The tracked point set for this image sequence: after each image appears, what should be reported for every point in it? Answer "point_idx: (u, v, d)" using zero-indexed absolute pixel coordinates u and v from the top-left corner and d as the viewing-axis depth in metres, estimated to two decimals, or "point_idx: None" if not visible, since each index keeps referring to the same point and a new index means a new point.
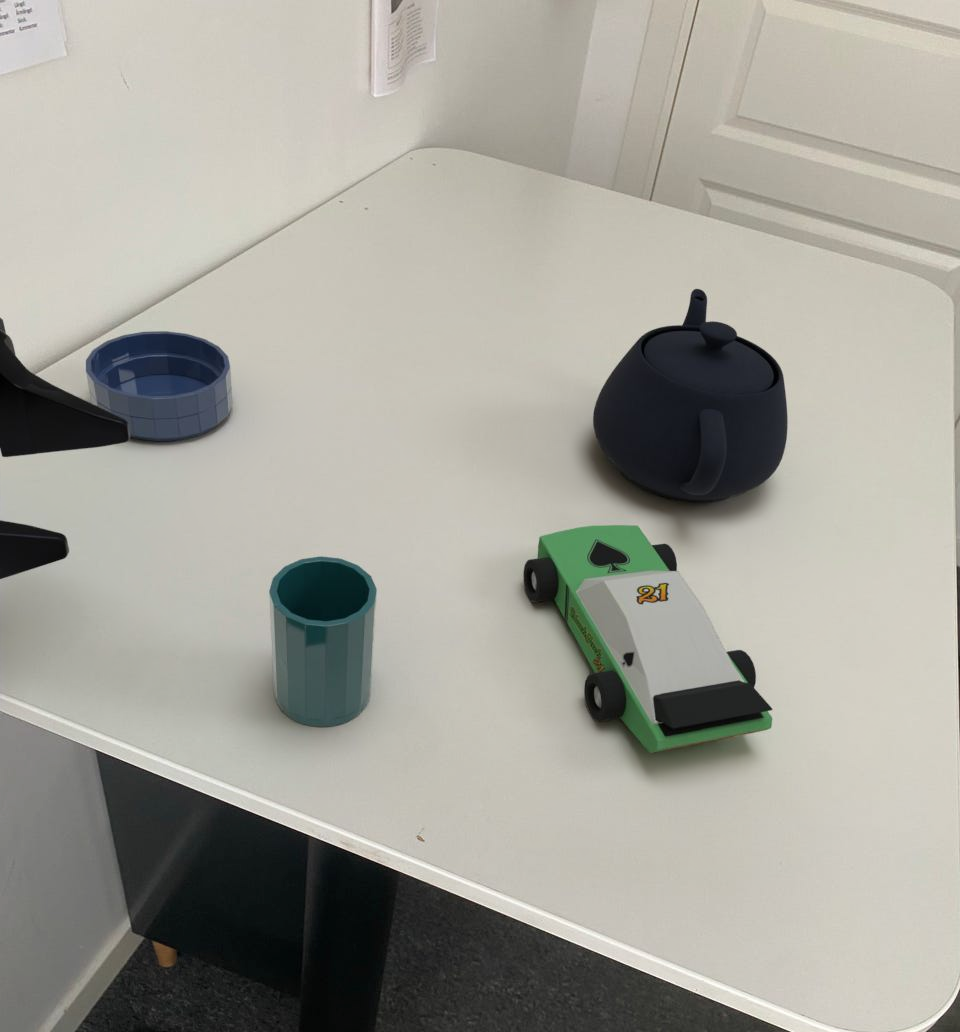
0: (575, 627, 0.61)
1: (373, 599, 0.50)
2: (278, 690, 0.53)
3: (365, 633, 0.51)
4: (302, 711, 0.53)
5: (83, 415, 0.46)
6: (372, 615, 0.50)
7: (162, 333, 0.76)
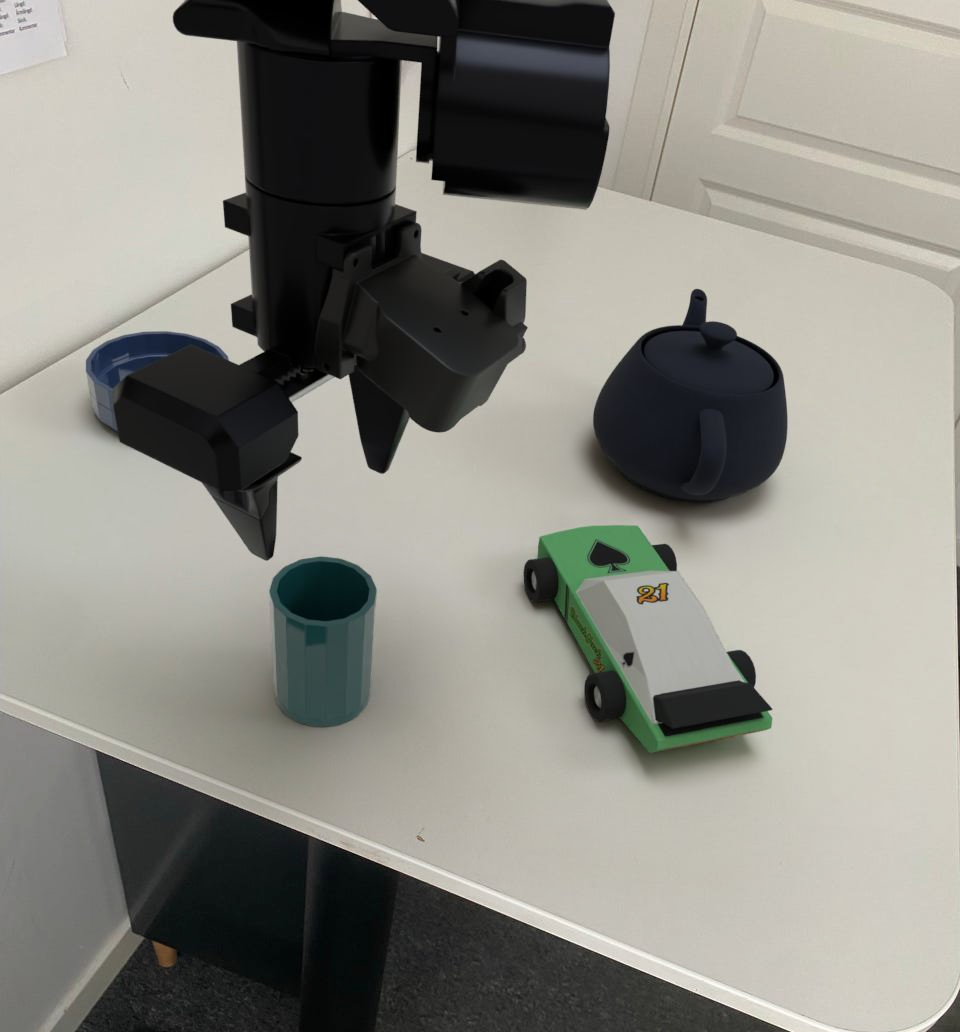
0: (575, 627, 0.61)
1: (373, 599, 0.50)
2: (278, 690, 0.53)
3: (365, 633, 0.51)
4: (302, 711, 0.53)
5: (388, 441, 0.48)
6: (372, 615, 0.50)
7: (162, 333, 0.76)
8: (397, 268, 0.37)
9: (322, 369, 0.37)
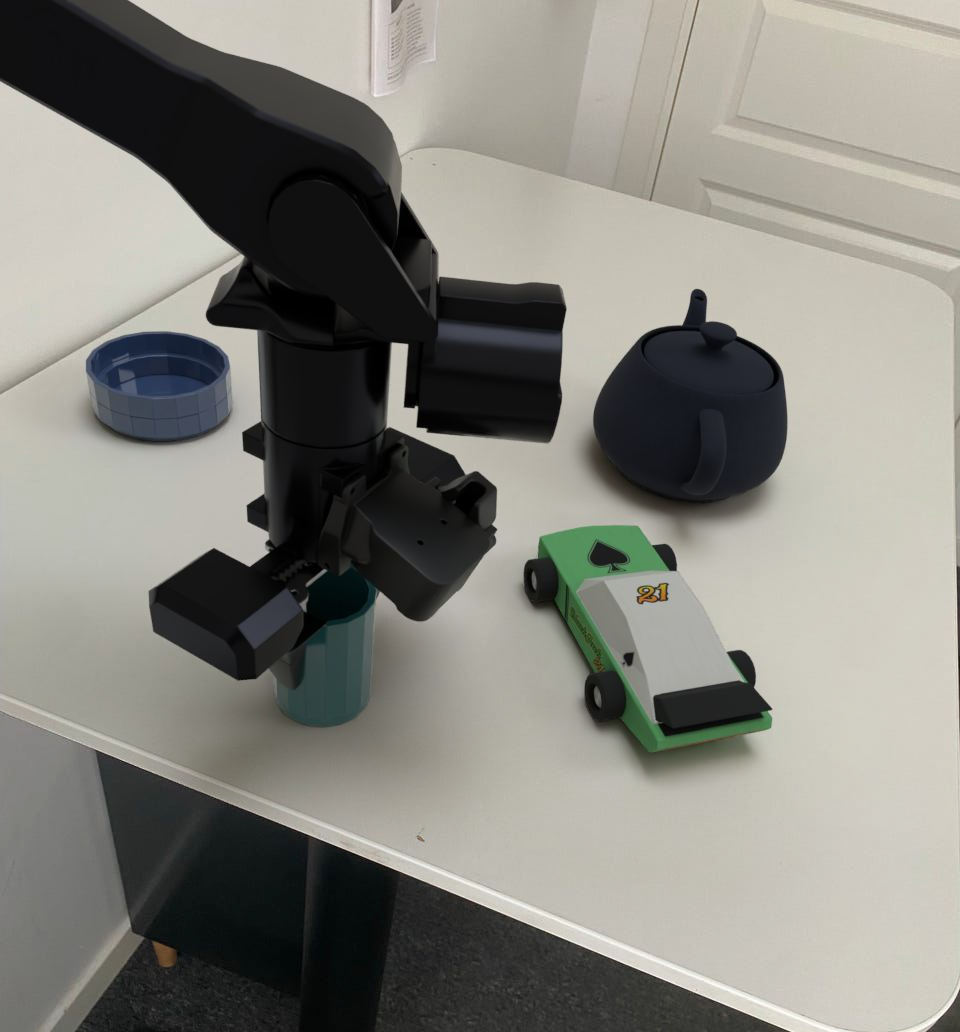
0: (575, 627, 0.61)
1: (373, 599, 0.50)
2: (278, 690, 0.53)
3: (365, 633, 0.51)
4: (302, 711, 0.53)
5: None
6: (372, 615, 0.50)
7: (162, 333, 0.76)
8: (387, 485, 0.44)
9: (323, 567, 0.44)
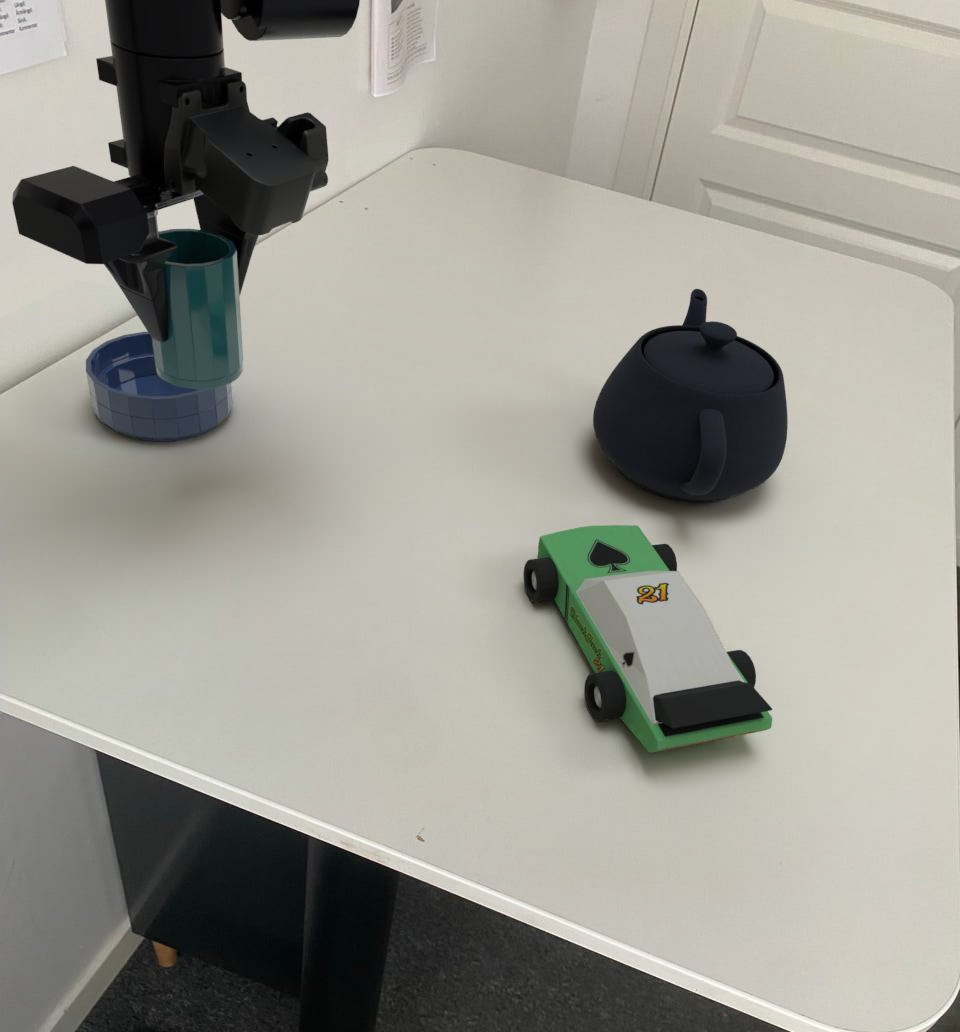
0: (575, 627, 0.61)
1: (231, 255, 0.57)
2: (154, 353, 0.60)
3: (225, 287, 0.57)
4: (175, 370, 0.60)
5: None
6: (231, 271, 0.57)
7: None
8: (225, 112, 0.50)
9: (170, 187, 0.51)
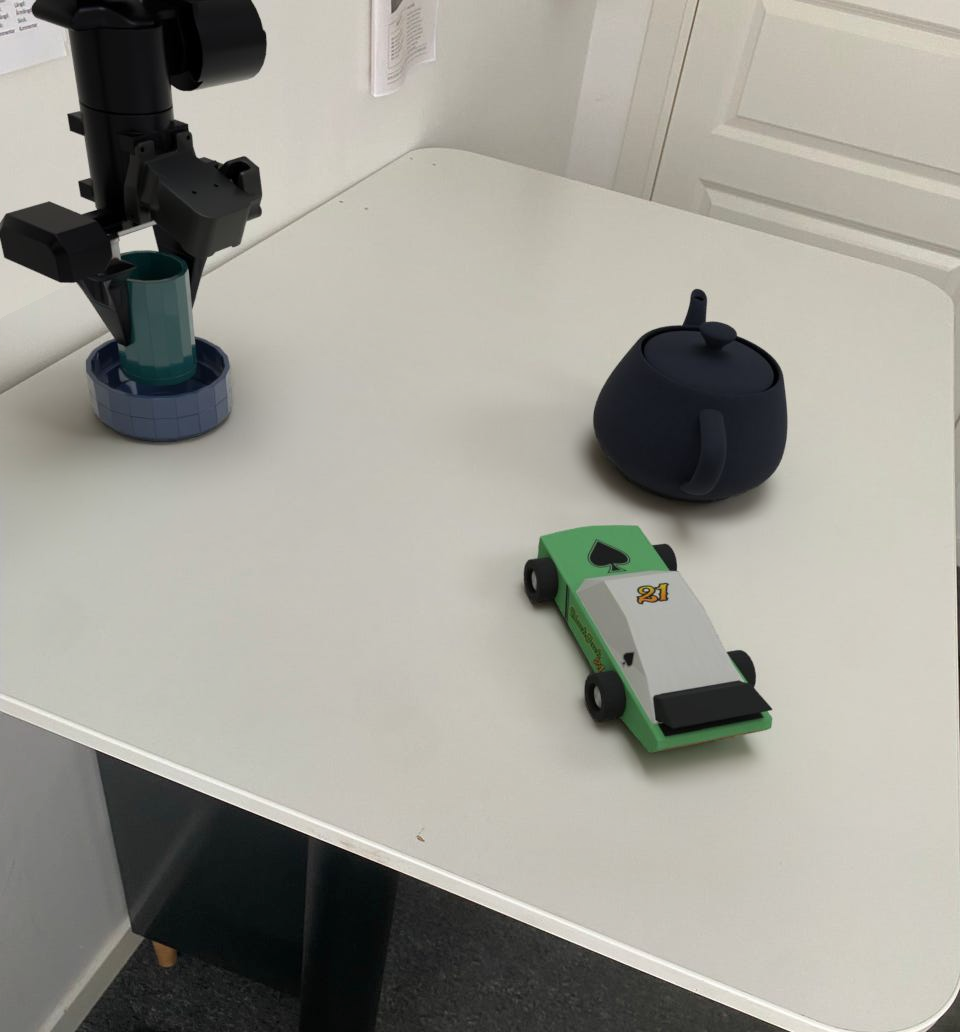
0: (575, 627, 0.61)
1: (184, 272, 0.67)
2: (120, 356, 0.71)
3: (179, 299, 0.68)
4: (137, 370, 0.70)
5: None
6: (184, 286, 0.68)
7: None
8: (174, 157, 0.61)
9: (130, 218, 0.62)
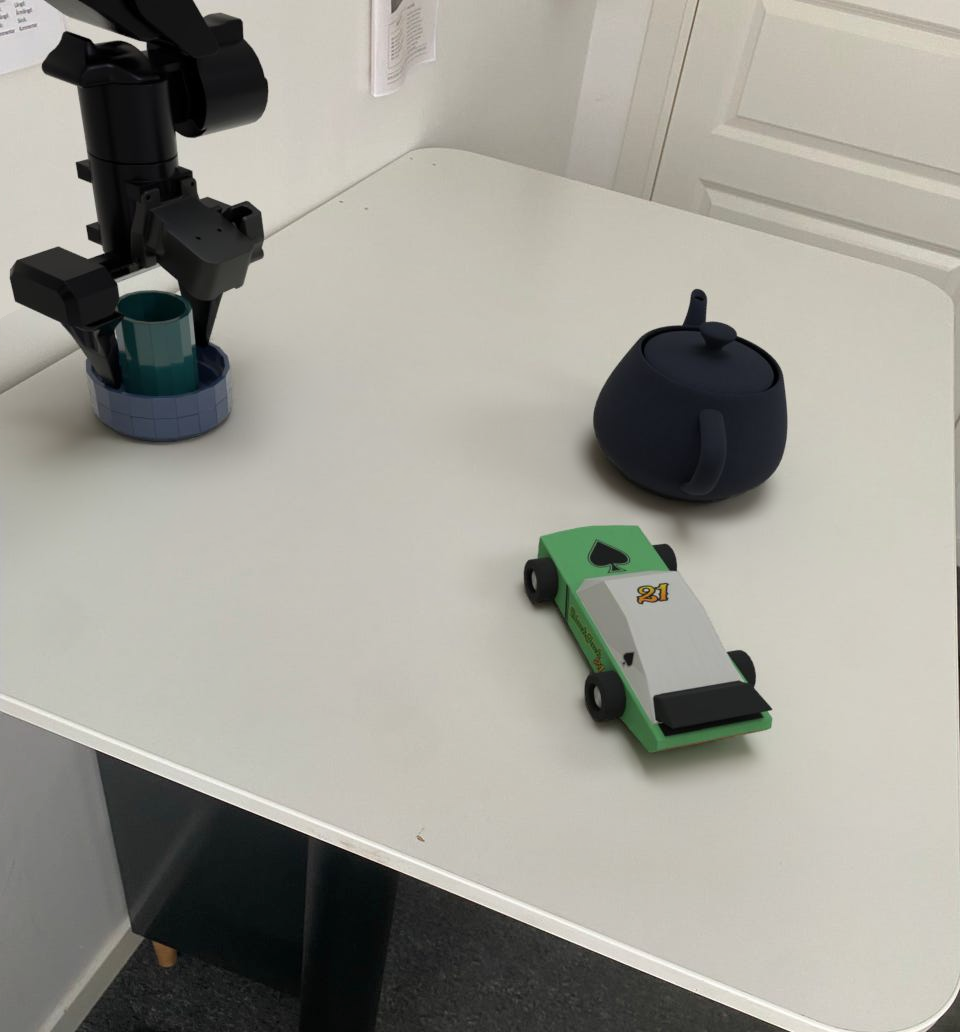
0: (575, 627, 0.61)
1: (187, 313, 0.69)
2: (126, 392, 0.73)
3: (183, 339, 0.70)
4: None
5: (204, 324, 0.74)
6: (187, 326, 0.70)
7: None
8: (179, 203, 0.63)
9: (136, 262, 0.64)
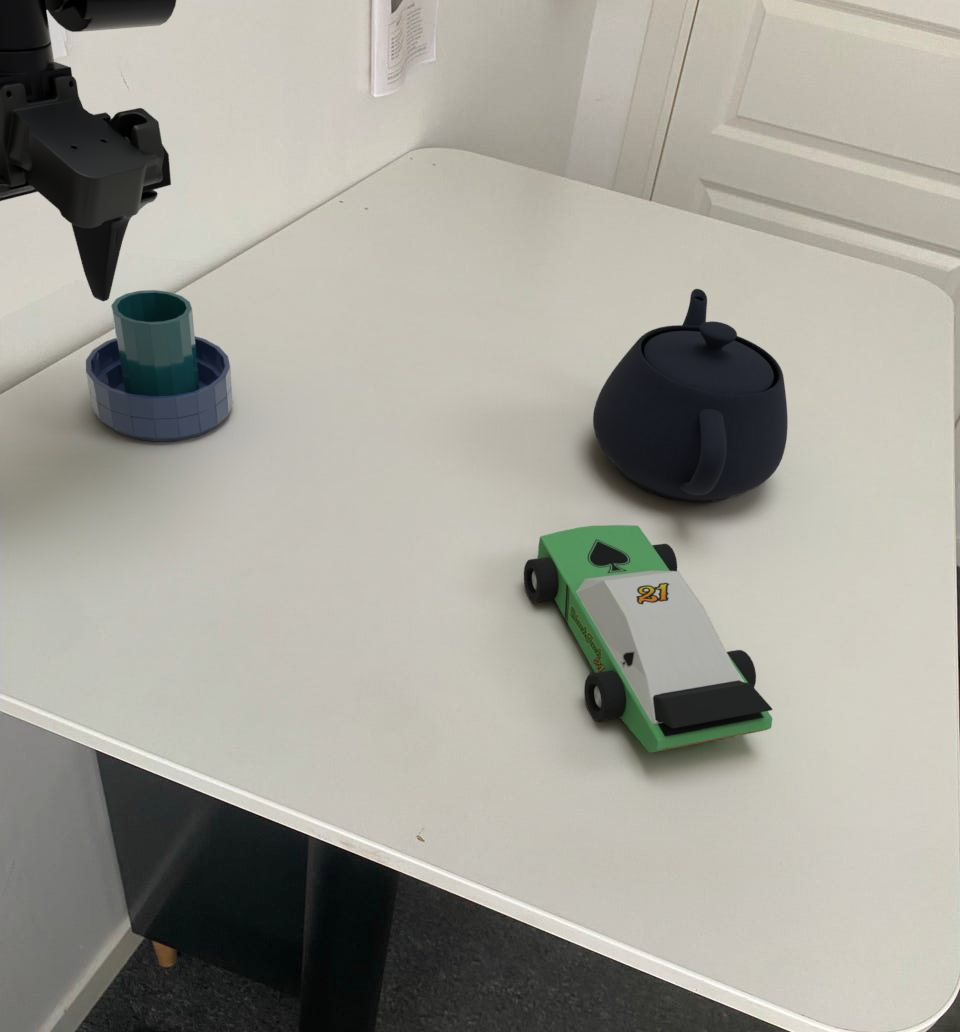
0: (575, 627, 0.61)
1: (187, 313, 0.69)
2: (126, 392, 0.73)
3: (183, 339, 0.70)
4: None
5: (102, 271, 0.62)
6: (187, 326, 0.70)
7: None
8: (53, 106, 0.51)
9: None
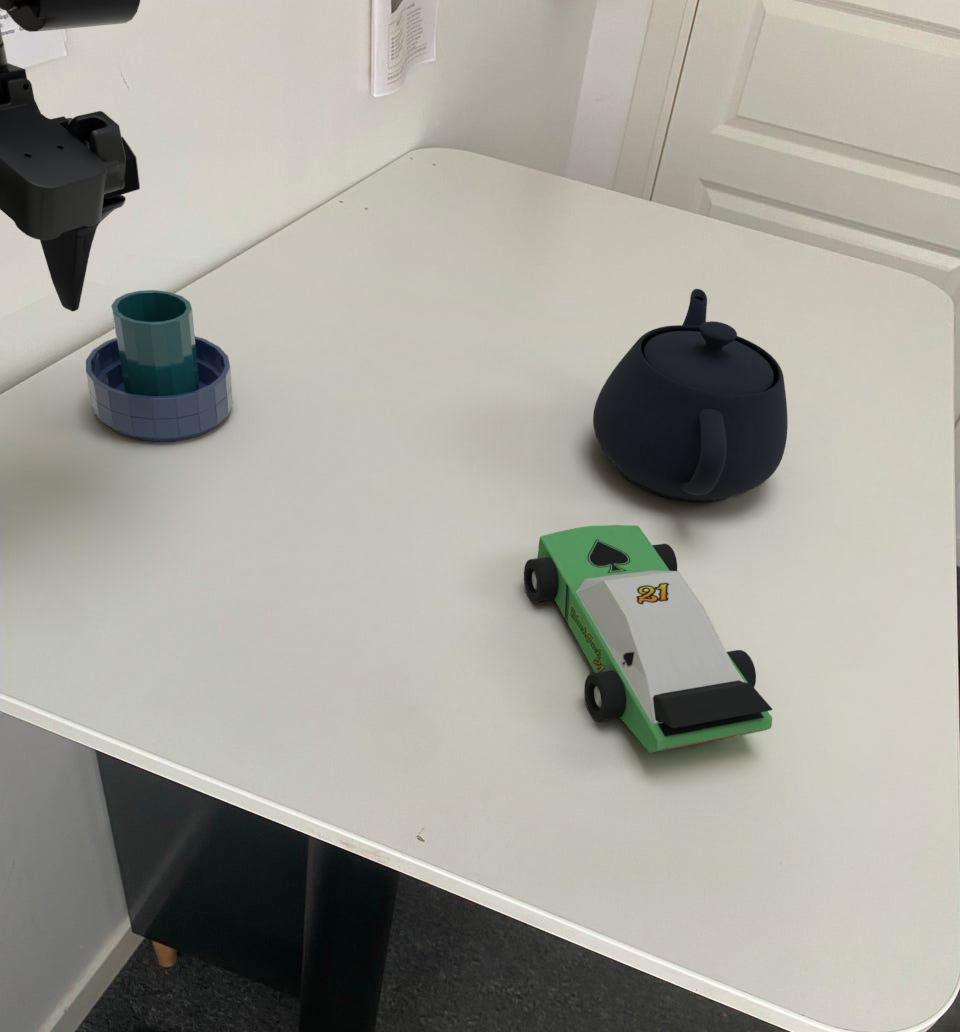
0: (575, 627, 0.61)
1: (187, 313, 0.69)
2: (126, 392, 0.73)
3: (183, 339, 0.70)
4: None
5: (70, 281, 0.59)
6: (187, 326, 0.70)
7: None
8: (6, 111, 0.48)
9: None
